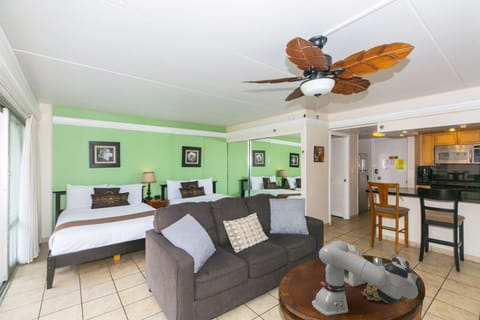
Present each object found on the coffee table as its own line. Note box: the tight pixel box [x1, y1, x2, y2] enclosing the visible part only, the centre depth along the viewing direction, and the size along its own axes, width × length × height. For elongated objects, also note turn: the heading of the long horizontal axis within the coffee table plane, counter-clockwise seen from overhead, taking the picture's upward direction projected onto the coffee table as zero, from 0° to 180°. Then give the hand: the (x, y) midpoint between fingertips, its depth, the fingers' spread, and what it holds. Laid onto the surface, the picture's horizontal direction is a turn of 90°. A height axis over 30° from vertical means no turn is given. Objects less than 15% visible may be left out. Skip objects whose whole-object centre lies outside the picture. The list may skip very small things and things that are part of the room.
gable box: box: [338, 239, 367, 288], centre depth 174 cm, size 22×13×28 cm, turn 22°
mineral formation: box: [360, 282, 383, 302], centre depth 146 cm, size 8×13×15 cm
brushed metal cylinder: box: [372, 256, 383, 266], centre depth 176 cm, size 6×6×12 cm
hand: (376, 264), depth 177 cm, fingers closed on brushed metal cylinder, 6 cm apart
